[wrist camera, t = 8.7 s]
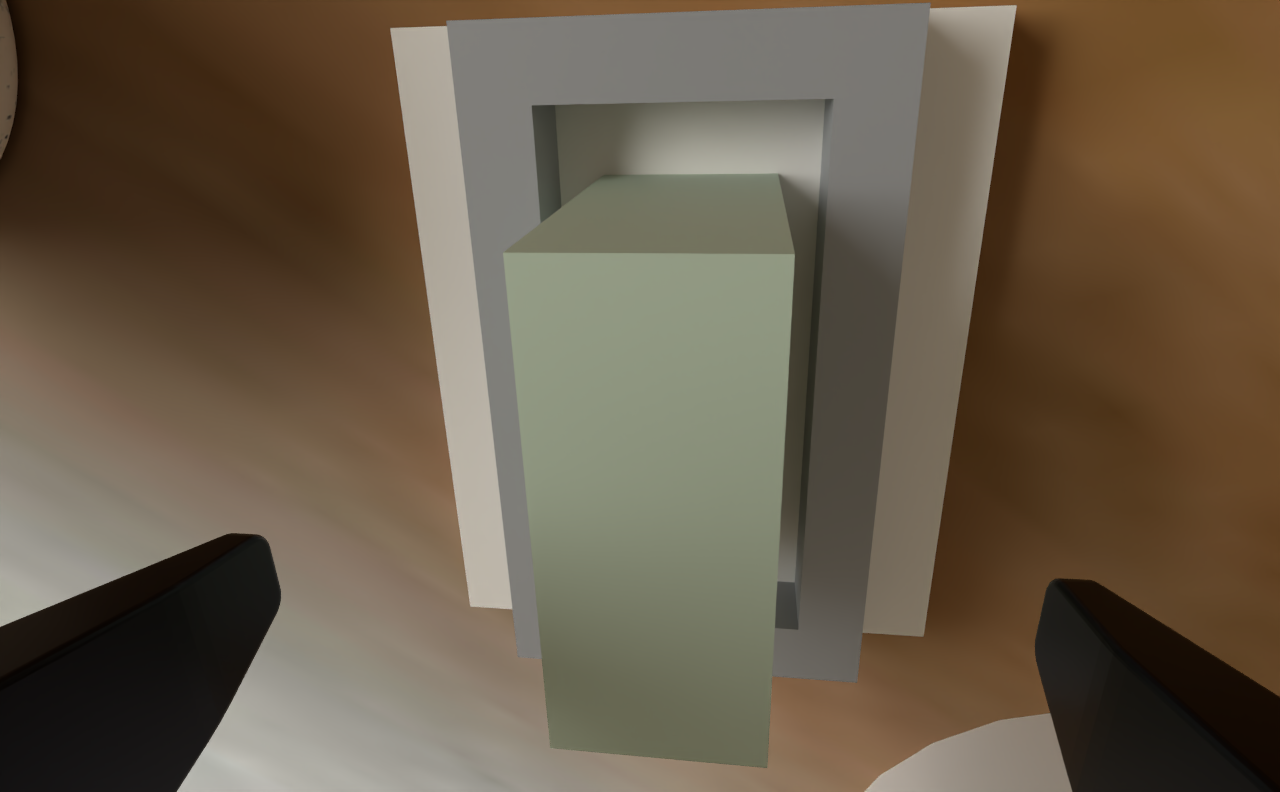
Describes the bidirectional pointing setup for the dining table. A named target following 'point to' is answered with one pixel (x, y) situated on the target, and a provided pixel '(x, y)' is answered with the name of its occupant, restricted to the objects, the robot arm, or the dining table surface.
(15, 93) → the teacup with lid
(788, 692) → the dining table surface
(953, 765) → the honey pot
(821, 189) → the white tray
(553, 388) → the pale green block
